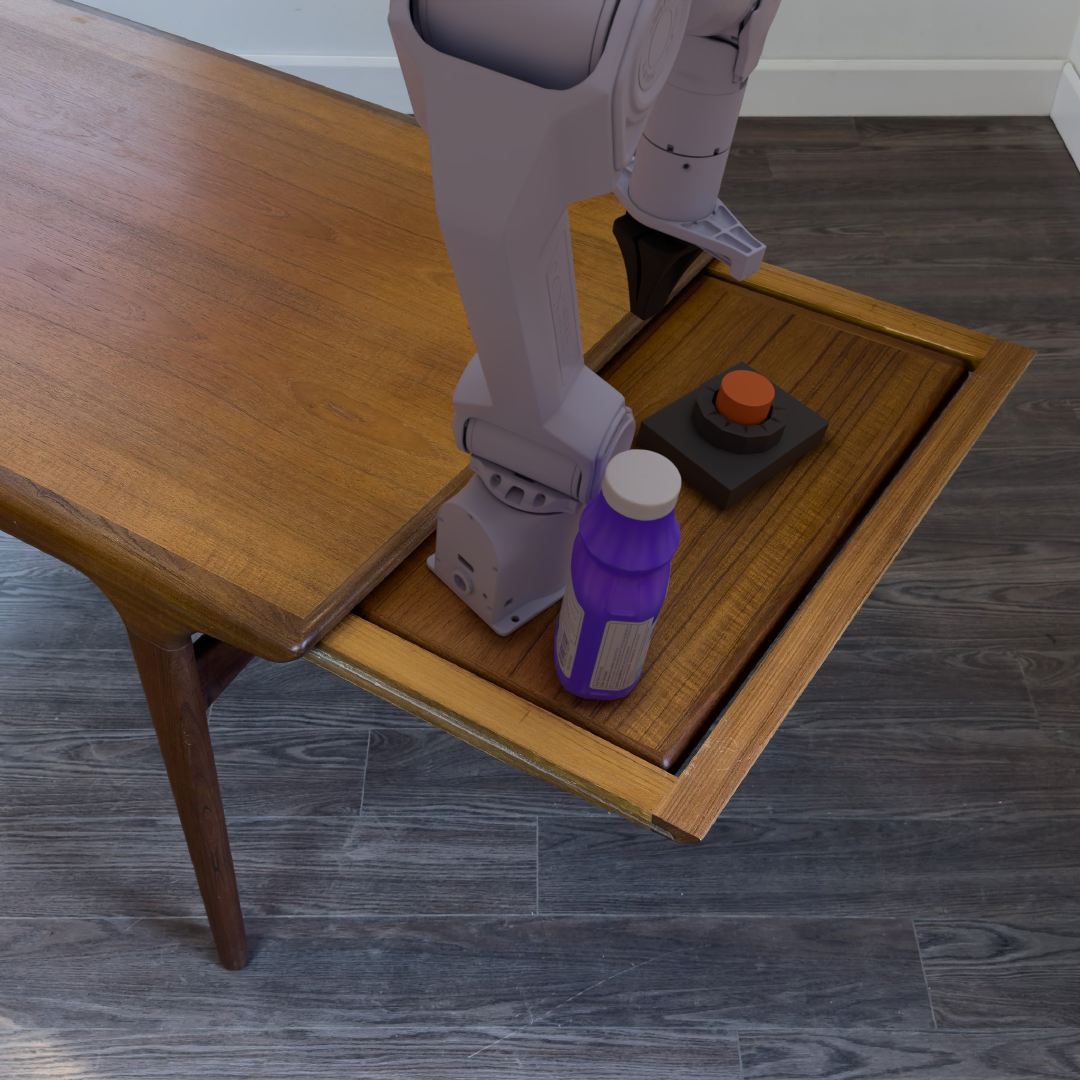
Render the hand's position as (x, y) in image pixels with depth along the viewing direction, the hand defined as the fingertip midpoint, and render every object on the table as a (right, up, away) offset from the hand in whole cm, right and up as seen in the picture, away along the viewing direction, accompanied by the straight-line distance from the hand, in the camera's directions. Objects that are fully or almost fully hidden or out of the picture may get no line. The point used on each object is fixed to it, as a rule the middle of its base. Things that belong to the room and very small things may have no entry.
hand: (646, 311), depth 78 cm
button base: (+7, -9, +7) cm, 13 cm away
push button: (+8, -6, +5) cm, 11 cm away
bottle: (-4, -24, -8) cm, 26 cm away
